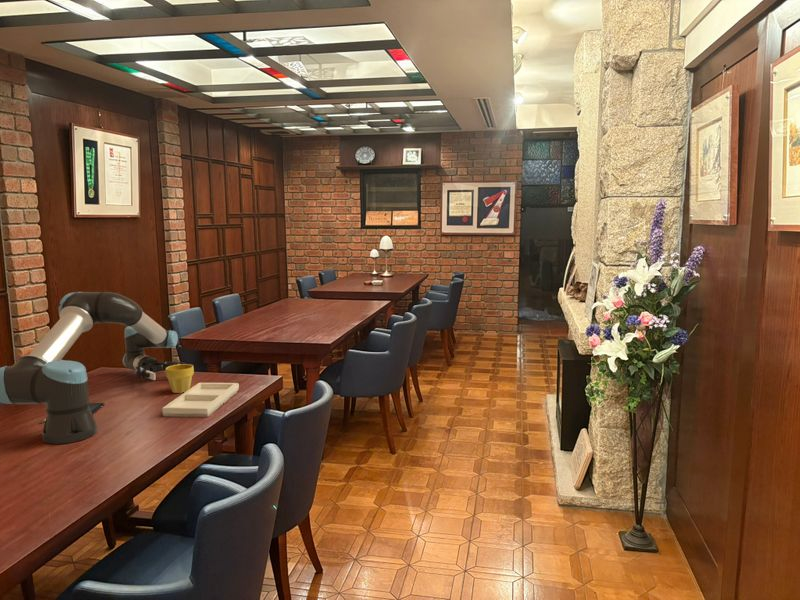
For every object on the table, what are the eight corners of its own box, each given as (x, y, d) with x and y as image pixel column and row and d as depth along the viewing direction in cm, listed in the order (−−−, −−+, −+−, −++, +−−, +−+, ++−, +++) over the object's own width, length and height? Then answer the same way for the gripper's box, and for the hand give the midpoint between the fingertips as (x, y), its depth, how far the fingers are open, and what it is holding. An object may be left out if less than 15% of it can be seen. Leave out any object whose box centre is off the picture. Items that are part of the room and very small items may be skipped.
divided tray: (207, 416, 196) (207, 408, 196) (162, 416, 197) (162, 407, 197) (238, 390, 227) (238, 383, 227) (199, 389, 228) (199, 382, 228)
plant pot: (175, 386, 233) (174, 363, 231) (199, 387, 231) (198, 364, 230) (161, 394, 223) (160, 369, 221) (186, 395, 221) (185, 370, 220)
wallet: (83, 418, 192) (35, 420, 190) (83, 424, 192) (36, 426, 191) (108, 400, 211) (65, 401, 210) (108, 405, 212) (66, 406, 210)
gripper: (174, 367, 255) (199, 375, 242) (117, 379, 236) (141, 389, 223) (173, 351, 254) (198, 358, 241) (115, 361, 235) (139, 370, 222)
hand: (171, 373), depth 232 cm, fingers open, 13 cm apart
